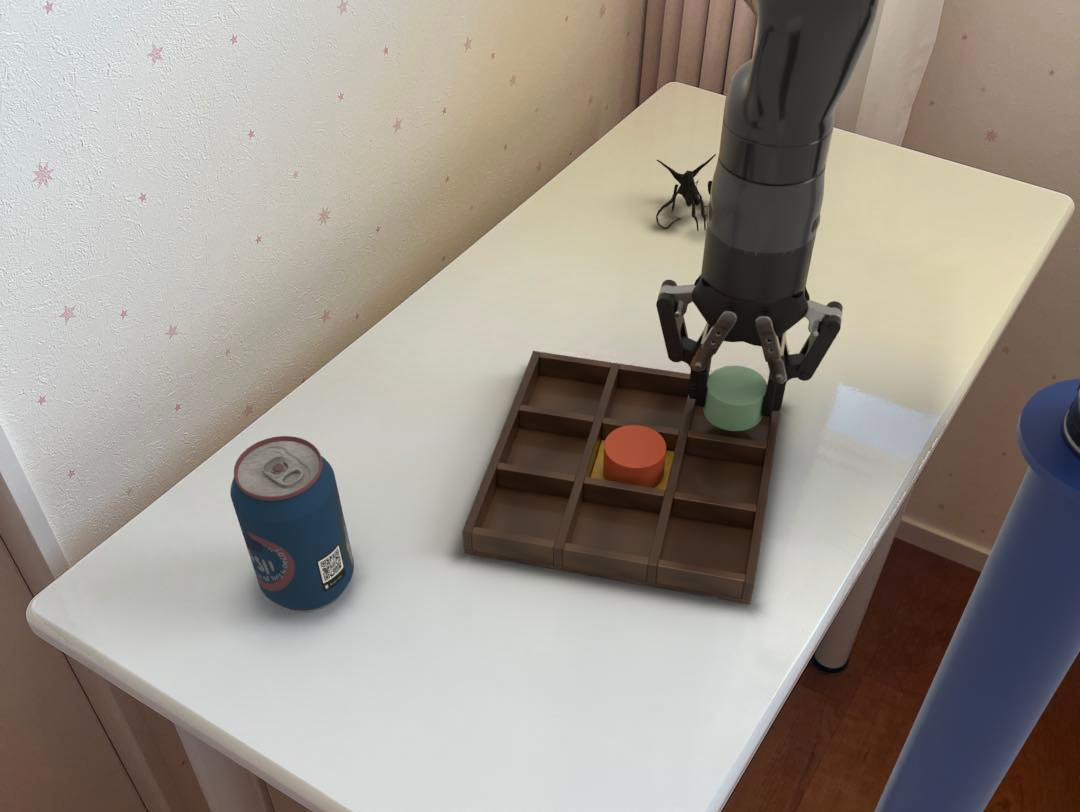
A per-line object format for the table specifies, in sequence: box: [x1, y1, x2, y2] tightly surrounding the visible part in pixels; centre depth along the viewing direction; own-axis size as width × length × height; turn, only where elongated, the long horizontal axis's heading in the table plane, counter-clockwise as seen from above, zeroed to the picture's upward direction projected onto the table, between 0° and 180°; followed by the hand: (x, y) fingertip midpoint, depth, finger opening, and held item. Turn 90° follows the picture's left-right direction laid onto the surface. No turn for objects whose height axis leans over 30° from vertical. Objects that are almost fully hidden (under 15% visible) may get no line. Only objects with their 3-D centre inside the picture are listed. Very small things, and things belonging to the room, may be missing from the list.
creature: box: [655, 153, 717, 232], centre depth 110 cm, size 8×5×8 cm
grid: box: [461, 350, 783, 605], centre depth 87 cm, size 21×21×2 cm
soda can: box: [229, 435, 355, 612], centre depth 77 cm, size 7×7×12 cm
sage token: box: [703, 365, 768, 431], centre depth 88 cm, size 5×5×3 cm
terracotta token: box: [603, 425, 666, 488], centre depth 86 cm, size 5×5×3 cm
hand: (733, 403), depth 89 cm, fingers closed on sage token, 4 cm apart
